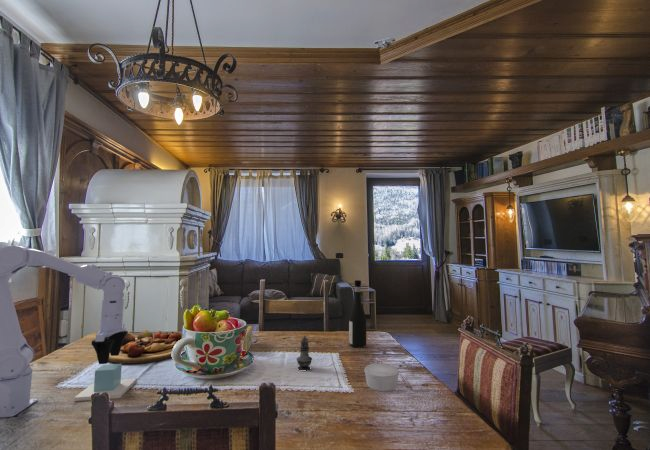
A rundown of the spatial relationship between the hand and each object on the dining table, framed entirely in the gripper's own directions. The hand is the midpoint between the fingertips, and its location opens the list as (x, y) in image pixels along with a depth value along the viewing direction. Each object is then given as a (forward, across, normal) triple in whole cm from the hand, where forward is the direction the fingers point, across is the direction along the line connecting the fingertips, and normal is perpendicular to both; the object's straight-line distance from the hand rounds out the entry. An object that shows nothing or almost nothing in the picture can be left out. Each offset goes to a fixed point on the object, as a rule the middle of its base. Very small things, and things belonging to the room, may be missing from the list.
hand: (109, 359), depth 99 cm
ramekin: (+10, -10, -85) cm, 86 cm away
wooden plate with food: (+10, +39, +1) cm, 41 cm away
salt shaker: (+10, +9, -62) cm, 63 cm away
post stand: (+9, 0, 0) cm, 9 cm away
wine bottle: (+10, +34, -90) cm, 97 cm away
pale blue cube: (+8, 0, 0) cm, 8 cm away
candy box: (+10, +37, -40) cm, 55 cm away
